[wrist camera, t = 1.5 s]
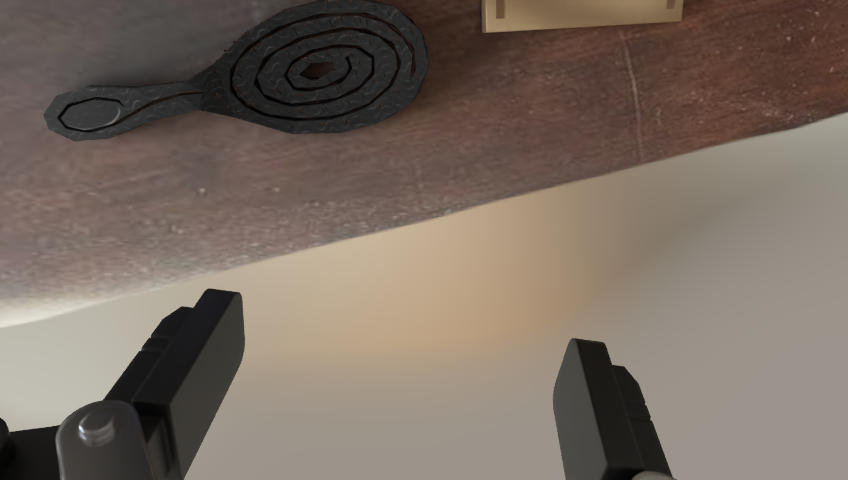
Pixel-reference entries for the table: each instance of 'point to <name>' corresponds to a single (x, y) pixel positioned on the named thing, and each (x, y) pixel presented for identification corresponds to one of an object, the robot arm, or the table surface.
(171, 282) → the table surface
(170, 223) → the table surface
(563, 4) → the cutting board
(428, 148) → the table surface
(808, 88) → the table surface
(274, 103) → the hairbrush
